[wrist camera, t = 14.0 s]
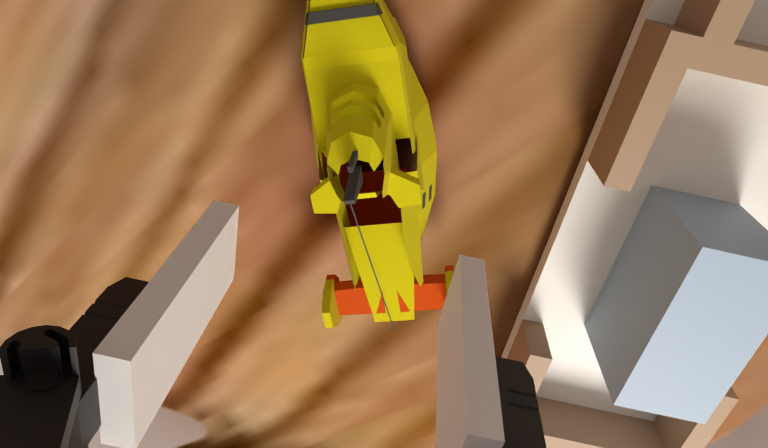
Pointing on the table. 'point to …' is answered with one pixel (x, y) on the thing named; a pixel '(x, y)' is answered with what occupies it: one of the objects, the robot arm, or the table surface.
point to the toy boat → (370, 159)
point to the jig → (627, 193)
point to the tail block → (682, 305)
